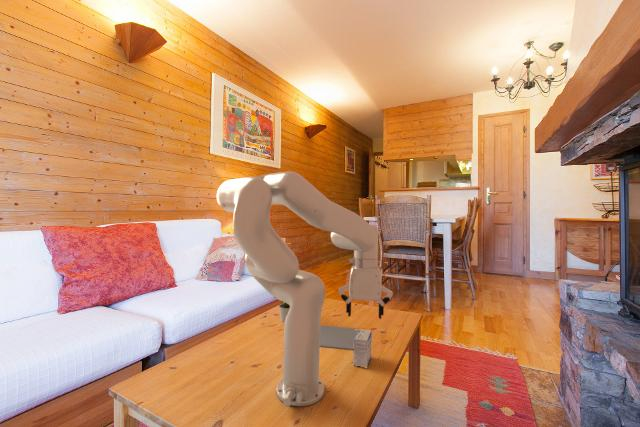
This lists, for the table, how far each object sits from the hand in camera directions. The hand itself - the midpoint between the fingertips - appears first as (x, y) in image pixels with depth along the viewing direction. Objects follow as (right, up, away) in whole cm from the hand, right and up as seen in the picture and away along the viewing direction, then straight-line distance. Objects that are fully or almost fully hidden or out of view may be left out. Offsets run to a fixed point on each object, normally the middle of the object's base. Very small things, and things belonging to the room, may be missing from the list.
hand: (364, 316), depth 94 cm
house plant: (-28, -13, +31) cm, 44 cm away
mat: (-10, -14, +18) cm, 25 cm away
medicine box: (-1, -15, 0) cm, 15 cm away
